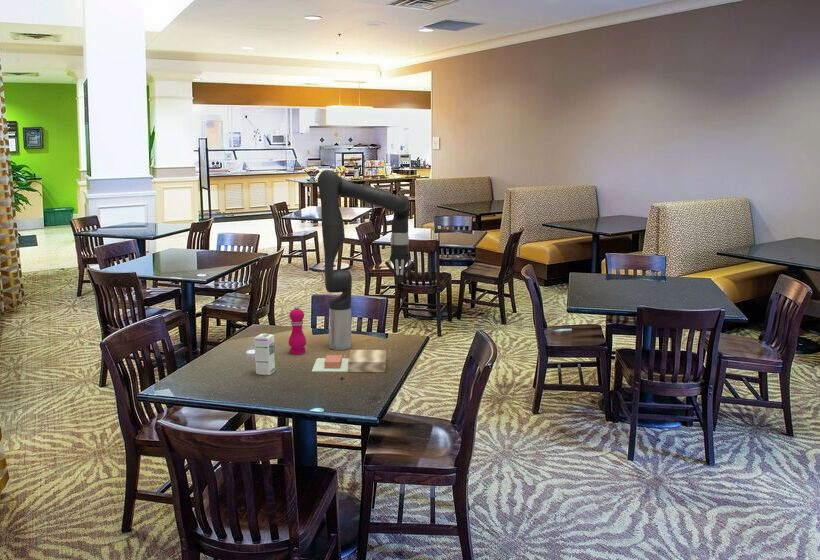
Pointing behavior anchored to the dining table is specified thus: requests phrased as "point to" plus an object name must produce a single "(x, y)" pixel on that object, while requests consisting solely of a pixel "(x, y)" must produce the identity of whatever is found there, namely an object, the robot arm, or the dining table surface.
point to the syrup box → (265, 354)
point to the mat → (320, 368)
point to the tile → (333, 361)
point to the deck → (367, 361)
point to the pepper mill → (297, 332)
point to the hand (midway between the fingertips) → (399, 283)
